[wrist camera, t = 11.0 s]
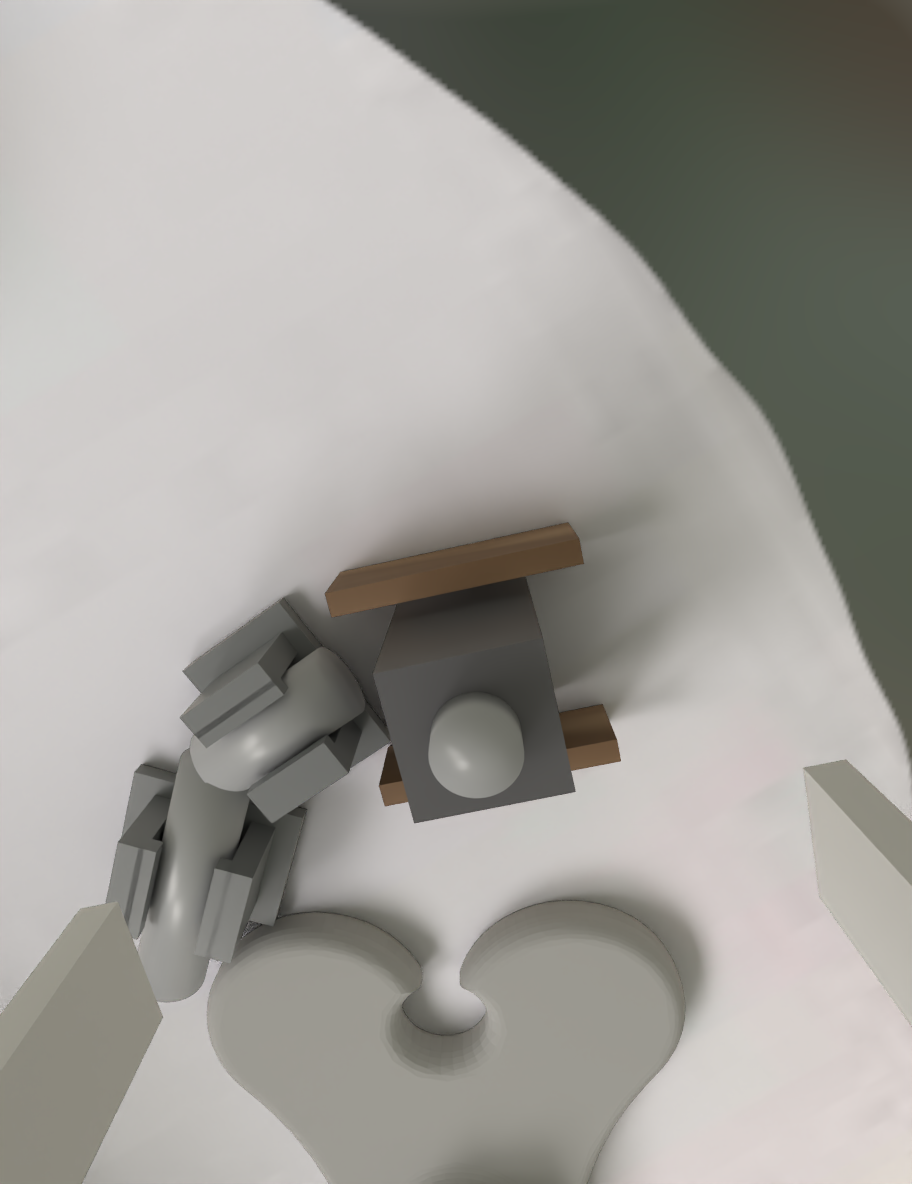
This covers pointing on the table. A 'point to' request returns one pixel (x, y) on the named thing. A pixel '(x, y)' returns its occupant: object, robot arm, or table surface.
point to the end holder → (467, 569)
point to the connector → (471, 702)
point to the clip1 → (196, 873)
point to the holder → (450, 1044)
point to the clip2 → (277, 714)
